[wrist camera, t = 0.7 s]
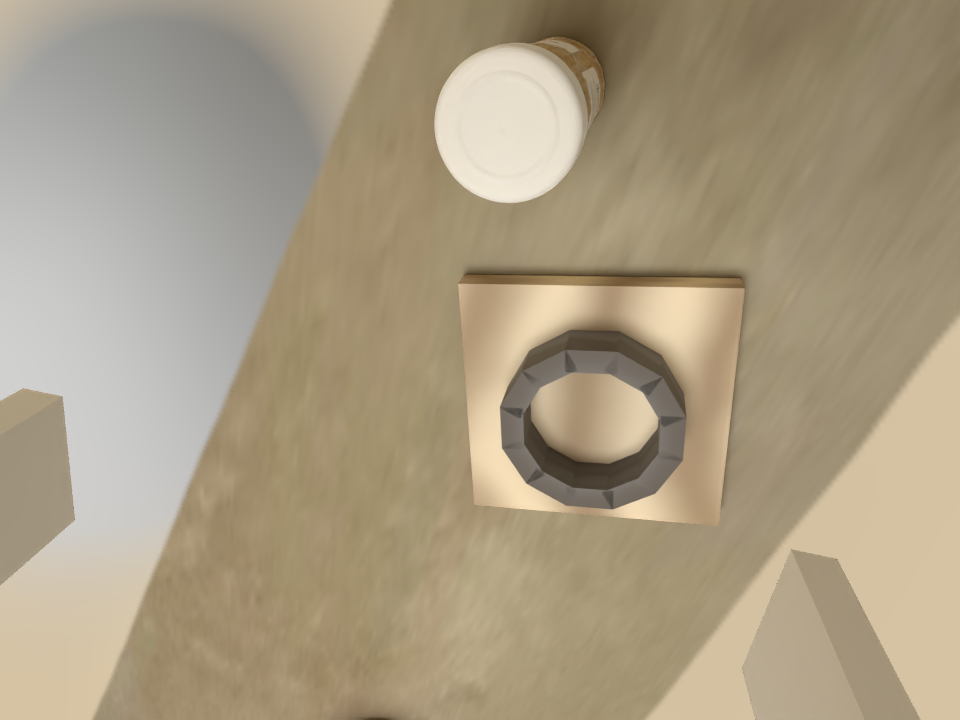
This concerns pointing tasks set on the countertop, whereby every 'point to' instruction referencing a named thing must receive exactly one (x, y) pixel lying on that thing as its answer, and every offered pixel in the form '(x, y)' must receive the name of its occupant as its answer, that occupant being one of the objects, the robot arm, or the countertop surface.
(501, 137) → the sprinkles bottle
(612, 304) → the mount plate
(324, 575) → the countertop surface
